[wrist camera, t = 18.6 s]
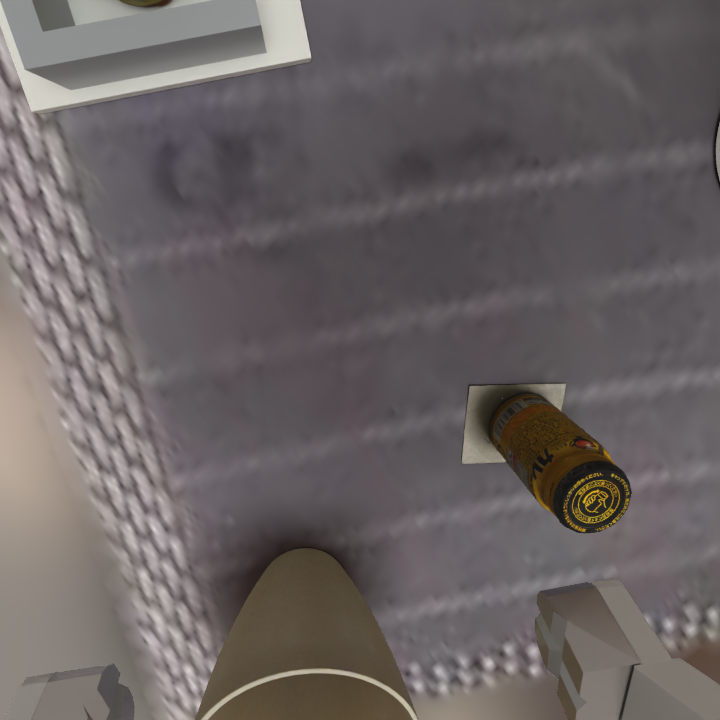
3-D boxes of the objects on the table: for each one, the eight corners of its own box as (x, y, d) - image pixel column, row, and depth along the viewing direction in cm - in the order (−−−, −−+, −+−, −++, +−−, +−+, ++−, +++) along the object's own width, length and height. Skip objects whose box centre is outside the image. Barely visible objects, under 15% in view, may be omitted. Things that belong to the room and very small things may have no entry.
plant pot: (196, 536, 45) (148, 709, 30) (365, 493, 46) (400, 641, 31) (245, 664, 50) (224, 868, 35) (396, 624, 51) (440, 807, 36)
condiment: (553, 459, 47) (634, 544, 36) (461, 462, 46) (515, 551, 35) (564, 382, 45) (655, 447, 34) (468, 384, 44) (529, 451, 33)
